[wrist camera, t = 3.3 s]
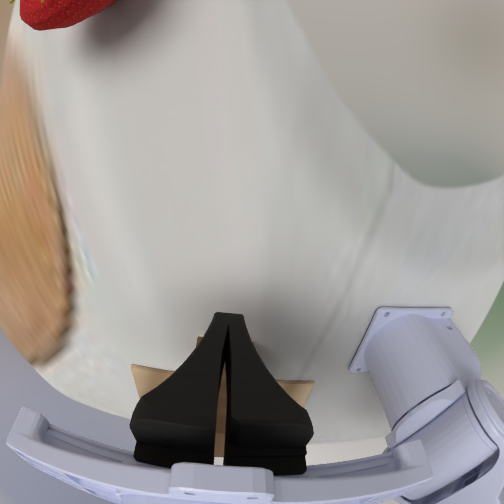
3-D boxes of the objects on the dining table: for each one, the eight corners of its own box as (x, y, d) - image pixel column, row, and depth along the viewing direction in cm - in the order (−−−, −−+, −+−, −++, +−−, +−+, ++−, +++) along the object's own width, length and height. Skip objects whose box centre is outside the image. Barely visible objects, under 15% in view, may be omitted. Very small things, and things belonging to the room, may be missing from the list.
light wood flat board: (313, 380, 25) (314, 383, 25) (292, 423, 29) (292, 426, 29) (131, 364, 24) (130, 367, 24) (145, 410, 28) (144, 413, 28)
